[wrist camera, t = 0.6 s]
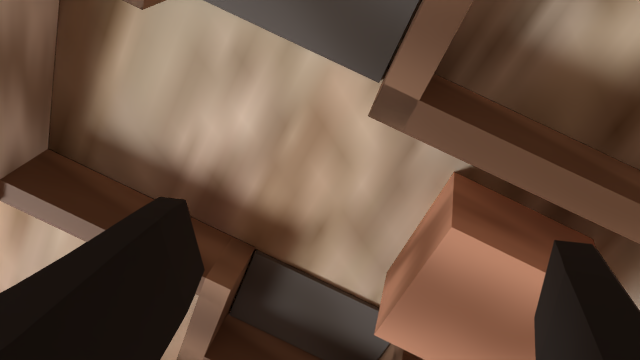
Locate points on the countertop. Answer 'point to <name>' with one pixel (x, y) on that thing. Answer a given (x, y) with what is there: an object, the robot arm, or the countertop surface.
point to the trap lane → (389, 108)
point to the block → (470, 277)
